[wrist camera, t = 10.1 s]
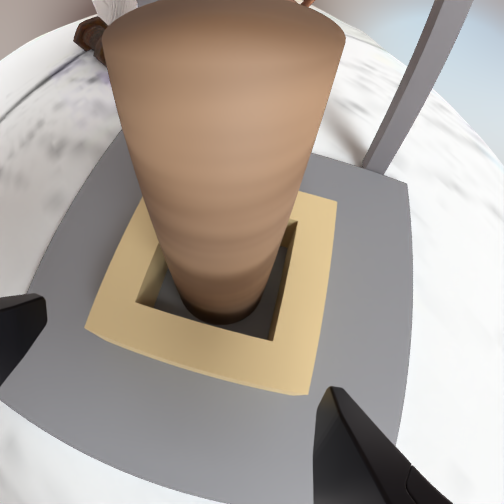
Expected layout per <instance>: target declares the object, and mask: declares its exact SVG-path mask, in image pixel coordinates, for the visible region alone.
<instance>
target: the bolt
mask: <svg viewBox="0 0 504 504" xmlns="http://www.w3.org/2000/svg"><path fill="white" fill-rule="evenodd" d="M107 27H108V25H107V24H106V23H105V22H104V21H103V20H102V19H101V18H100V17H98V16H97V17H94V18H91V19H88V20H85V21H83V22H81V23H80V24H79V26H78V28H77V30H76V33H75V36H74V40H73V41H74V42H75V43H76V44H77V45H79V46H80V47H81V48H82V49H84V50H85V51H88V50H90V49H93V50H94V55H93V56H94V57H96V58H97V59H98V60H99V61H100V62H101V63H103V64H104V65H105V66H106V67H107V65H106V60H105V55H104V51H103V45H102V35H103V33H104V31H105V30H106V28H107Z"/></svg>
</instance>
